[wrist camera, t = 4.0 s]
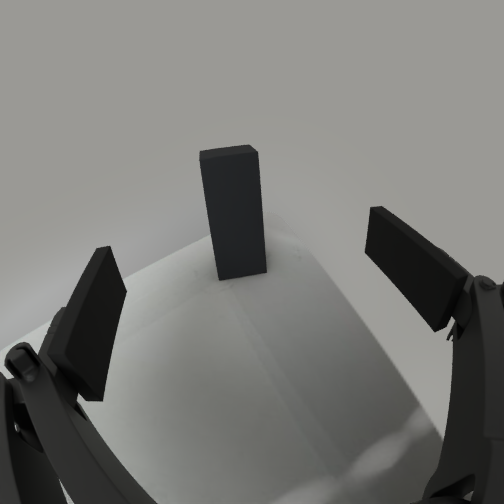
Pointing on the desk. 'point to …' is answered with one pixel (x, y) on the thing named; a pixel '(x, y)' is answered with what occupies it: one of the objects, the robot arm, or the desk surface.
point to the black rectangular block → (234, 210)
